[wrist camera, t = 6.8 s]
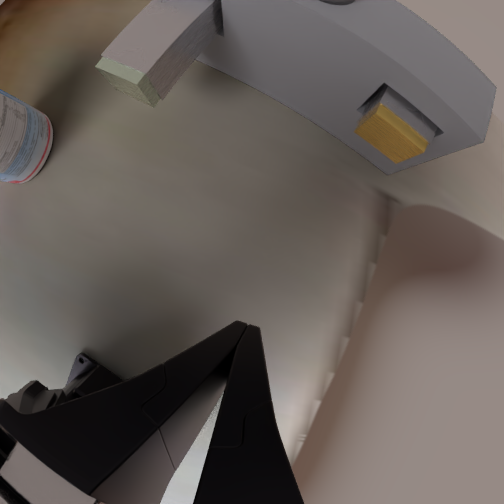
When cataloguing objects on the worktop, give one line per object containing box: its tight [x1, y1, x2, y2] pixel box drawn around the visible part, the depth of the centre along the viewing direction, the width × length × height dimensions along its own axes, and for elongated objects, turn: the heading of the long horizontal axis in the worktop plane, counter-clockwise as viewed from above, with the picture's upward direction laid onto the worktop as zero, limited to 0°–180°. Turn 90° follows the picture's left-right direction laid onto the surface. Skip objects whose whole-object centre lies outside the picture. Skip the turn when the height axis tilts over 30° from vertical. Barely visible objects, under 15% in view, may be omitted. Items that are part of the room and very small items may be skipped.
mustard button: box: [354, 83, 438, 164], centre depth 12 cm, size 8×3×3 cm, turn 148°
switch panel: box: [195, 0, 496, 175], centre depth 12 cm, size 4×18×14 cm, turn 58°
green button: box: [95, 0, 223, 108], centre depth 12 cm, size 8×3×3 cm, turn 148°
